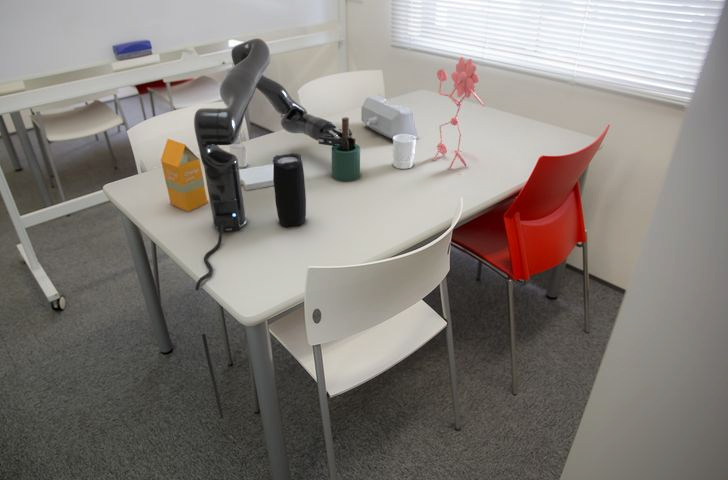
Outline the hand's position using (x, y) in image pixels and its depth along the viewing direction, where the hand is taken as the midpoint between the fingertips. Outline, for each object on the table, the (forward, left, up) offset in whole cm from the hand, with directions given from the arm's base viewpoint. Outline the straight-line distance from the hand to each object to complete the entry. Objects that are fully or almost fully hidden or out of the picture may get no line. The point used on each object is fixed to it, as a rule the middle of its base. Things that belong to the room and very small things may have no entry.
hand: (351, 143), depth 165 cm
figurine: (+10, -39, -13) cm, 43 cm away
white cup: (+9, -19, -13) cm, 25 cm away
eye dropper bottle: (+17, +39, -13) cm, 44 cm away
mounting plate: (+4, +31, -13) cm, 33 cm away
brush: (+2, +2, -11) cm, 11 cm away
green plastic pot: (+3, +2, -12) cm, 13 cm away
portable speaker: (-27, +21, -13) cm, 36 cm away
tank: (+42, -18, -13) cm, 47 cm away
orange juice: (-11, +53, -13) cm, 55 cm away
